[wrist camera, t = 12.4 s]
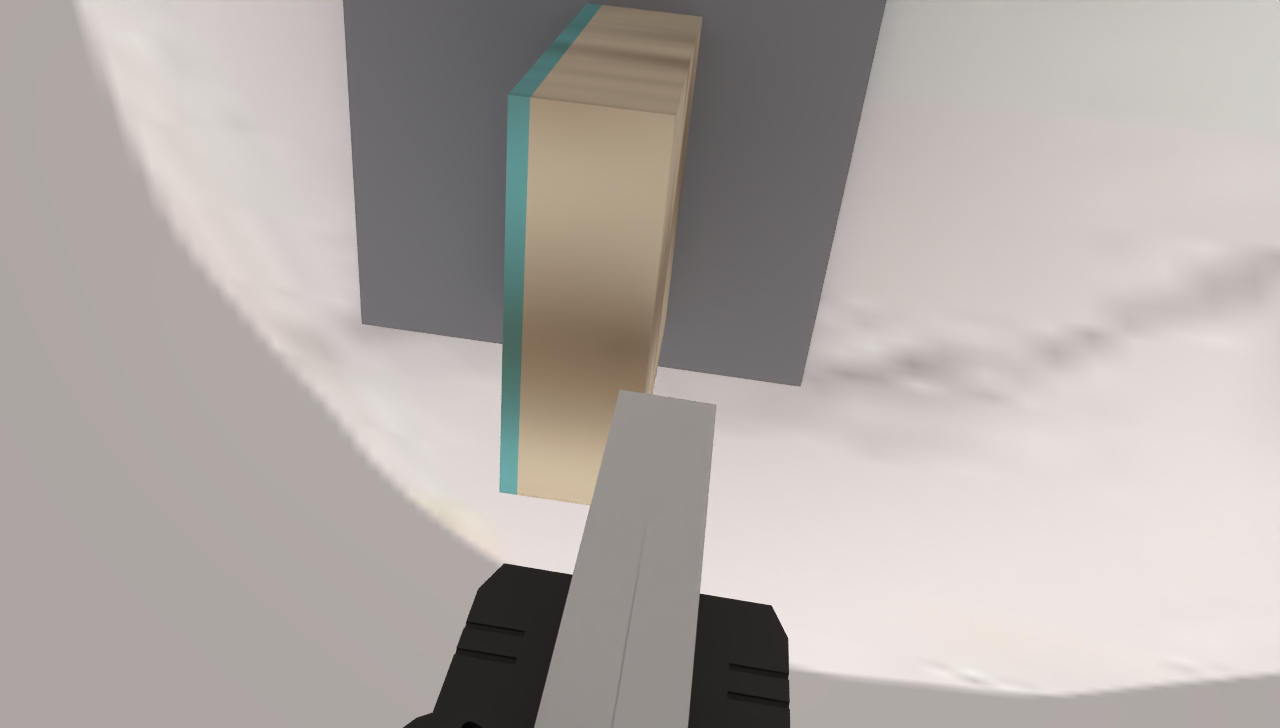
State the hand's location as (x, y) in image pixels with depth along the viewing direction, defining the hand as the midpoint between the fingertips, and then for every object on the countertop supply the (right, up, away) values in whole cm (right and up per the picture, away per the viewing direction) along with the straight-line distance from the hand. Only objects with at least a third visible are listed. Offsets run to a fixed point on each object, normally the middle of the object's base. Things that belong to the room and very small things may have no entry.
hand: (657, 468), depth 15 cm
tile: (-1, +7, +12) cm, 14 cm away
